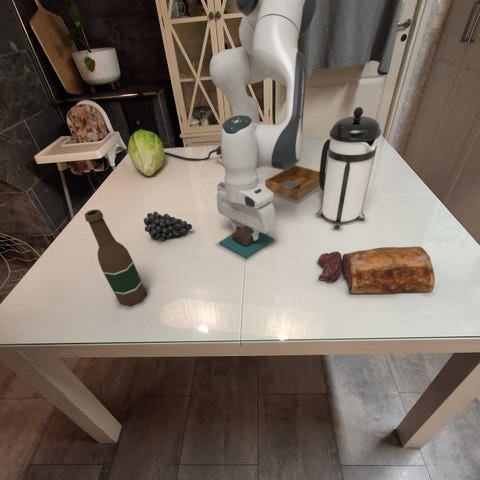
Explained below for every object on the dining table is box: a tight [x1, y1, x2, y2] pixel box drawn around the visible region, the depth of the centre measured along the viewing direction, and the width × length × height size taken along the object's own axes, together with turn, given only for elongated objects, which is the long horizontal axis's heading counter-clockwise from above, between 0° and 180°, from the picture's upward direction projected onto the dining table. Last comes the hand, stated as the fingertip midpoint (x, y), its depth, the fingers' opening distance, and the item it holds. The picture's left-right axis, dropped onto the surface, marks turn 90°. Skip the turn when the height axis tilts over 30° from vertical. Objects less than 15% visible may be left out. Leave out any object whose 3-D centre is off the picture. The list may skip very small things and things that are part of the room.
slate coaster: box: [281, 180, 301, 190], centre depth 111 cm, size 6×6×2 cm
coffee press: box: [316, 106, 382, 230], centre depth 86 cm, size 17×16×30 cm
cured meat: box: [317, 246, 436, 295], centre depth 75 cm, size 18×25×7 cm
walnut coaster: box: [231, 225, 260, 246], centre depth 90 cm, size 6×6×2 cm
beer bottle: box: [84, 208, 148, 307], centre depth 70 cm, size 8×8×24 cm
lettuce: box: [127, 128, 166, 177], centre depth 136 cm, size 15×24×16 cm
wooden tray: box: [264, 164, 321, 201], centre depth 112 cm, size 15×17×4 cm
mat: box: [218, 232, 275, 259], centre depth 91 cm, size 12×12×1 cm
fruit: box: [143, 211, 193, 242], centre depth 95 cm, size 9×8×15 cm
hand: (246, 235), depth 90 cm, fingers closed on walnut coaster, 6 cm apart
